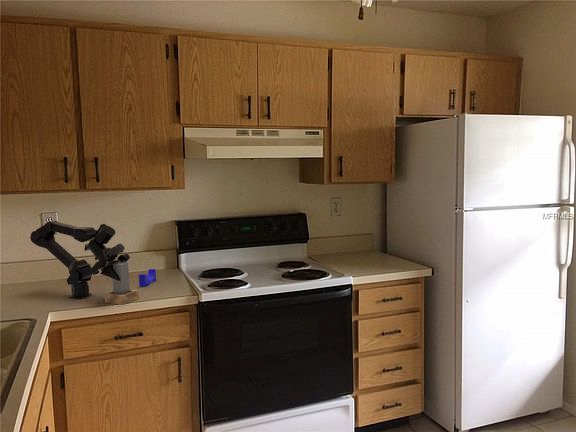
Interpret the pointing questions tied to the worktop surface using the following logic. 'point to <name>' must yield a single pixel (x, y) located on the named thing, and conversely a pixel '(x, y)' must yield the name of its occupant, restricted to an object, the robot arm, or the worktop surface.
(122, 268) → the plain gray rectangular block
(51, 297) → the worktop surface
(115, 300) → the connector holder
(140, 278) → the cable clip
